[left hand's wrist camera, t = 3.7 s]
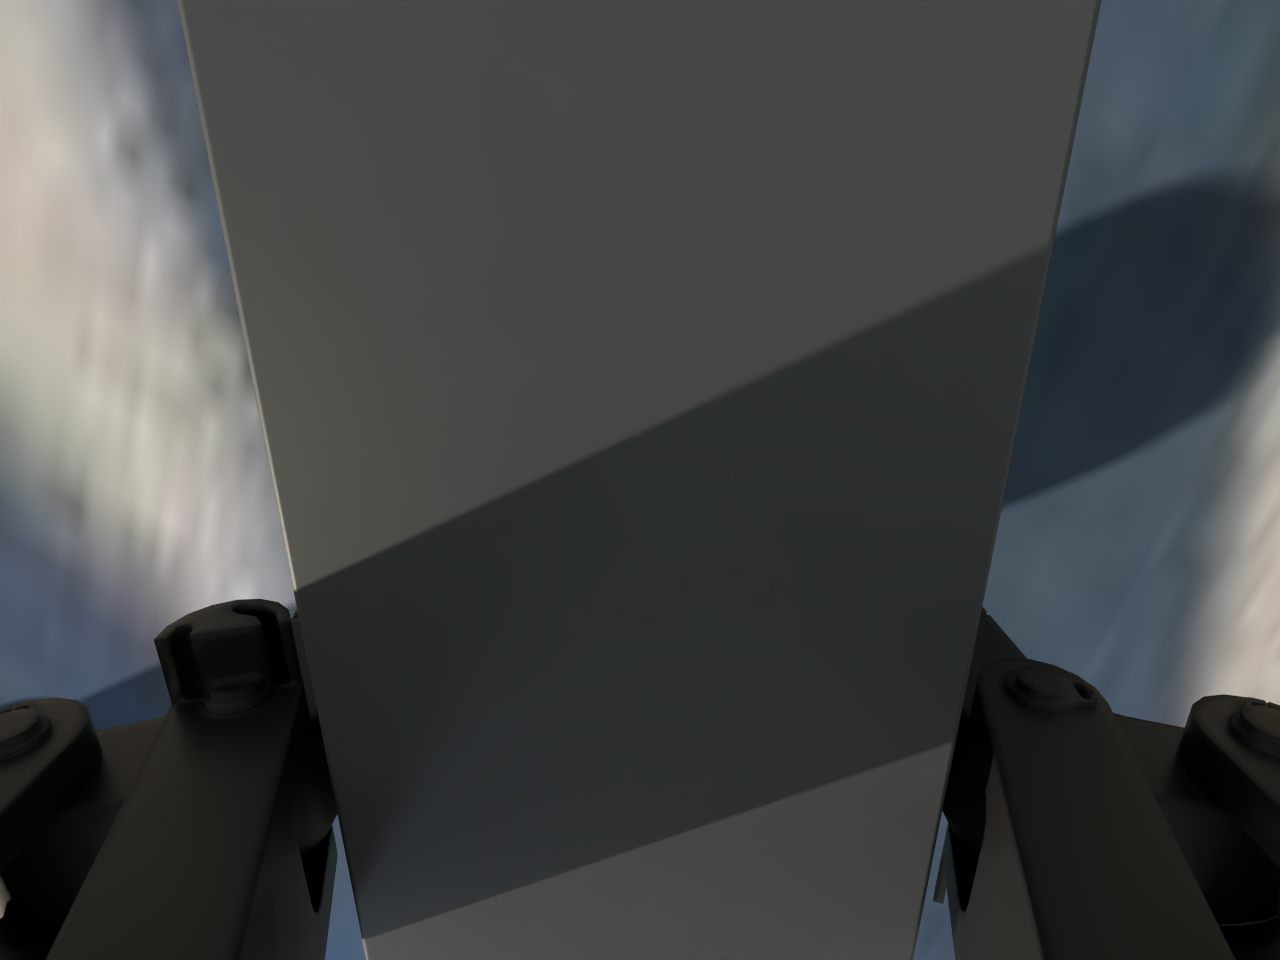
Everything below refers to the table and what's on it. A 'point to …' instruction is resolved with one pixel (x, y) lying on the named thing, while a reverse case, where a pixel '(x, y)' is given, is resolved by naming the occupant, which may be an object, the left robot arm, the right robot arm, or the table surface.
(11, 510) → the table surface
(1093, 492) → the table surface
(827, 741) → the bar
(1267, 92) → the table surface
